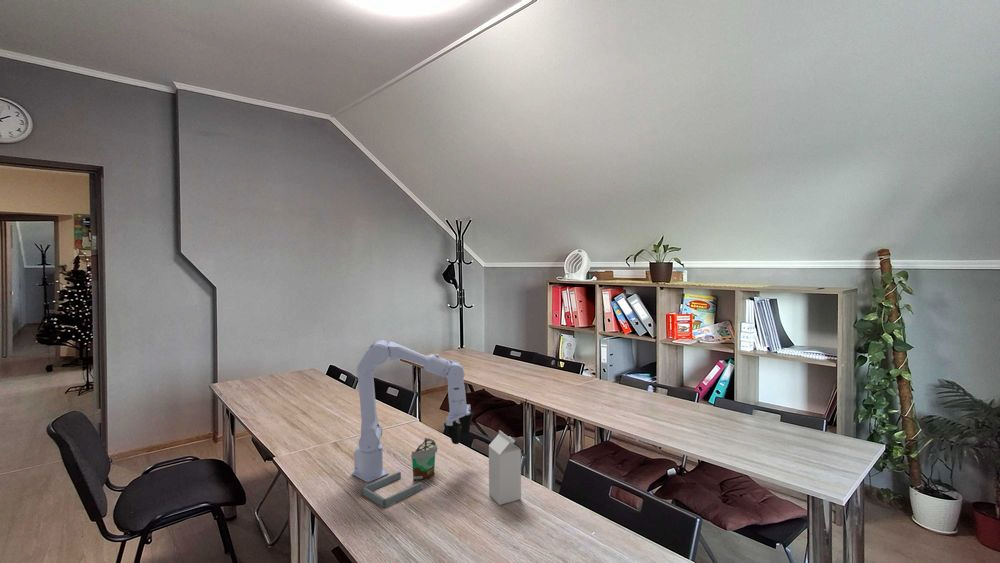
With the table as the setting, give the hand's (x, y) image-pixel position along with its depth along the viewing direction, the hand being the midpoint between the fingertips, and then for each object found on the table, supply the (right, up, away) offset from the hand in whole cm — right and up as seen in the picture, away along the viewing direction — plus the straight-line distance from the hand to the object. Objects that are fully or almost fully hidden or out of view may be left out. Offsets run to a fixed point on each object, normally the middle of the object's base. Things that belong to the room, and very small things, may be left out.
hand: (460, 438), depth 153 cm
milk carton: (+15, -12, -18) cm, 25 cm away
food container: (-11, -11, -4) cm, 16 cm away
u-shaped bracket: (-20, -11, -14) cm, 27 cm away
